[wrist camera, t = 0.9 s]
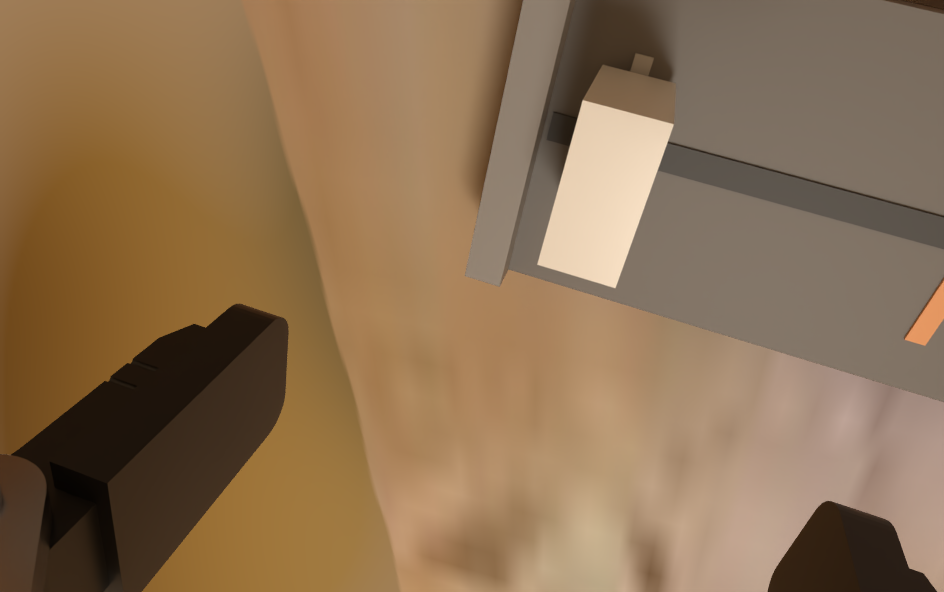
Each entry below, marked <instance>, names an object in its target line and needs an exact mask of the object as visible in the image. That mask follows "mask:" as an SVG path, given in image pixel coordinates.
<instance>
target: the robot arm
mask: <svg viewBox="0 0 944 592" xmlns="http://www.w3.org/2000/svg"><path fill="white" fill-rule="evenodd" d="M287 349H288V324H287V321H286V320H285V319H284V318H282V317H279V316H276V315H273V314H270V313H267V312H263V311H260V310H257V309H254V308H252V307H248V306H246V305H243V304H235V305H233V306H231V307H230V308H229V309H227V310H226V311H225V312H224V313H223V314H222V315H220V316H219V317H218V318H217V319H216V320H214V321H213V322H212V323H211V324H210V325H209V326H207V327H206V328H205V327H202V326H199V325H196V324H193V325H191V326H188V327H185V328H183V329H180V330H178V331H175V332H173V333H170V334H168V335H165V336H163V337H160V338H158V339H157V340H156V341H155V342H153V343H152V344H151V345H150V346H148V347H147V348H146V349H145V350H143V351H142V352H141V353H140V354H138V355H137V356H136V357H134V358H133V361H132V363H131V364H129V363H127V364H126V365H125V366H123V367H122V368H121V369H119V370H118V371H117V372H116V373H115V374H113V375H112V376H111V378H110V381H109V382H106V381H104V382H103V383H102V384H100V385H99V386H98V387H97V388H96V389H94V390H93V391H92V392H91V393H89V394H88V395H87V396H85V397H84V398H83V399H82V400H80V401H79V402H78V403H77V404H75V405H74V406H73V407H72V408H70V409H69V410H68V411H67V412H65V413H64V414H63V415H62V416H60V417H59V418H58V419H57V420H55V421H54V422H53V423H51V424H50V425H49V426H48V427H46V428H45V429H44V430H43V431H41V432H40V433H39V434H38V435H36V436H35V437H34V438H33V439H31V440H30V441H29V442H28V443H26V444H25V445H24V446H23V447H21V448H20V449H19V450H17V451H16V452H14V453H13V454H11V455H7V454H0V592H142V591H143V589H144V588H145V587H146V586H147V584H148V583H149V582H150V581H151V579H152V578H153V577H154V576H155V574H156V573H157V572H158V571H159V569H160V568H161V567H162V566H163V564H164V563H165V562H166V561H167V560H168V558H169V557H170V556H171V555H172V553H173V552H174V551H175V550H176V549H177V547H178V546H179V545H180V544H181V542H182V541H183V540H184V539H185V537H186V536H187V535H188V534H189V532H190V531H191V530H192V529H193V527H194V526H195V525H196V524H197V523H198V521H199V520H200V519H201V518H202V516H203V515H204V514H205V513H206V511H207V510H208V509H209V507H210V506H211V505H212V504H213V503H214V502H215V500H216V499H217V498H218V497H219V495H220V494H221V493H222V492H223V490H224V489H225V488H226V487H227V485H228V484H229V483H230V482H231V480H232V479H233V478H234V477H235V476H236V474H237V473H238V472H239V471H240V469H241V468H242V467H243V466H244V464H245V463H246V462H247V461H248V459H249V458H250V457H251V456H252V455H253V453H254V452H255V451H256V449H257V448H258V447H259V446H260V444H261V443H262V442H263V441H264V440H265V438H266V437H267V436H268V435H269V433H270V432H271V430H272V429H273V427H274V426H275V424H276V422H277V420H278V417H279V415H280V413H281V410H282V407H283V403H284V398H285V387H286V367H287ZM768 592H937V591H936V590H935V588H934V587H933V586H932V584H931V583H930V582H929V580H928V579H927V578H926V576H925V575H924V574H923V573H921V572H918V571H915V570H912V569H909V567H908V564H907V561H906V559H905V556H904V553H903V550H902V547H901V544H900V541H899V538H898V536H897V533H896V530H895V528H894V526H893V525H892V524H891V523H890V522H889V521H888V520H886V519H883V518H880V517H877V516H874V515H871V514H868V513H865V512H862V511H859V510H856V509H853V508H850V507H847V506H844V505H841V504H838V503H835V502H832V501H826V502H824V503H822V504H821V505H820V506H819V507H818V508H817V509H816V510H815V512H814V513H813V515H812V516H811V518H810V519H809V521H808V522H807V524H806V525H805V526H804V528H803V529H802V531H801V532H800V534H799V535H798V537H797V538H796V539H795V541H794V542H793V544H792V545H791V547H790V548H789V550H788V551H787V552H786V554H785V555H784V557H783V558H782V560H781V561H780V563H779V564H778V566H777V567H776V569H775V571H774V573H773V575H772V578H771V581H770V584H769V588H768Z"/></svg>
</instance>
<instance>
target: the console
mask: <svg viewBox="0 0 944 592" xmlns="http://www.w3.org/2000/svg"><path fill="white" fill-rule="evenodd" d="M602 65H606V66H610V67H614V68H618V69H622V70H626V71H630V72H634V73H637V74H641V75H645V76H649V77H653V78H657V79H661V80H665V81H669V82H672V83H676V96H675V115H674V126H673V129H672V131H671V134H670V137H669V140H668V143H667V145H666V148H665V151H664V154H663V157H662V159H661V162H660V165H659V168H658V171H657V173H656V176H655V179H654V182H653V185H652V187H651V190H650V193H649V196H648V199H647V201H646V204H645V207H644V210H643V213H642V215H641V218H640V221H639V224H638V227H637V229H636V232H635V235H634V238H633V241H632V243H631V246H630V249H629V252H628V255H627V257H626V260H625V263H624V266H623V269H622V271H621V274H620V277H619V280H618V283H617V285H616V288H613V287H610V286H606V285H603V284H600V283H596V282H593V281H590V280H586V279H583V278H580V277H576V276H573V275H570V274H567V273H563V272H560V271H557V270H553V269H550V268H547V267H543V266H540V265H537V264H538V260H539V256H540V253H541V249H542V246H543V242H544V238H545V235H546V231H547V227H548V224H549V220H550V217H551V213H552V209H553V206H554V202H555V199H556V195H557V191H558V188H559V184H560V181H561V177H562V173H563V170H564V166H565V162H566V159H567V155H568V152H569V148H570V144H571V141H572V137H573V134H574V130H575V126H576V123H577V119H578V116H579V112H580V108H581V105H582V101H583V99H584V97H585V95H586V93H587V92H588V90H589V88H590V86H591V85H592V83H593V81H594V79H595V77H596V76H597V74H598V72H599V70H600V68H601V67H602ZM508 269H509V270H512V271H516V272H519V273H522V274H525V275H529V276H532V277H535V278H539V279H542V280H545V281H548V282H552V283H555V284H558V285H562V286H565V287H568V288H571V289H575V290H578V291H581V292H584V293H588V294H591V295H594V296H598V297H601V298H604V299H607V300H611V301H614V302H617V303H621V304H624V305H627V306H630V307H634V308H637V309H640V310H643V311H647V312H650V313H653V314H657V315H660V316H663V317H666V318H670V319H673V320H676V321H680V322H683V323H686V324H689V325H693V326H696V327H699V328H702V329H706V330H709V331H712V332H716V333H719V334H722V335H725V336H729V337H732V338H735V339H739V340H742V341H745V342H748V343H752V344H755V345H758V346H762V347H765V348H768V349H771V350H775V351H778V352H781V353H784V354H788V355H791V356H794V357H798V358H801V359H804V360H807V361H811V362H814V363H817V364H821V365H824V366H827V367H830V368H834V369H837V370H840V371H843V372H847V373H850V374H853V375H857V376H860V377H863V378H866V379H870V380H873V381H876V382H880V383H883V384H886V385H889V386H893V387H896V388H899V389H902V390H906V391H909V392H912V393H916V394H919V395H922V396H925V397H929V398H932V399H935V400H939V401H942V402H944V10H942V9H938V8H934V7H929V6H925V5H920V4H916V3H912V2H907V1H903V0H523V4H522V8H521V13H520V18H519V22H518V27H517V32H516V37H515V41H514V46H513V51H512V56H511V60H510V65H509V70H508V74H507V79H506V84H505V89H504V93H503V98H502V103H501V107H500V112H499V117H498V122H497V126H496V131H495V136H494V140H493V145H492V150H491V155H490V159H489V164H488V169H487V173H486V178H485V183H484V188H483V192H482V197H481V202H480V207H479V211H478V216H477V221H476V225H475V230H474V235H473V240H472V244H471V249H470V254H469V258H468V263H467V268H466V273H465V276H467V277H470V278H473V279H476V280H479V281H483V282H486V283H489V284H492V285H496V286H499V287H500V285H501V283H502V281H503V279H504V277H505V275H506V273H507V271H508Z"/></svg>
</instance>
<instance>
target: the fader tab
mask: <svg viewBox="0 0 944 592" xmlns="http://www.w3.org/2000/svg"><path fill="white" fill-rule="evenodd" d="M675 96H676V83H672V82H669V81H665V80H661V79H657V78H653V77H649V76H645V75H641V74H637V73H634V72H630V71H626V70H622V69H618V68H614V67H610V66H606V65H602V67H601V68H600V70H599V72H598V74H597V76H596V77H595V79H594V81H593V83H592V85H591V86H590V88H589V90H588V92H587V93H586V95H585V97H584V99H583V101H582V105H581V108H580V112H579V116H578V119H577V123H576V126H575V130H574V134H573V137H572V141H571V144H570V148H569V152H568V155H567V159H566V162H565V166H564V170H563V173H562V177H561V181H560V184H559V188H558V191H557V195H556V199H555V202H554V206H553V209H552V213H551V217H550V220H549V224H548V227H547V231H546V235H545V238H544V242H543V246H542V249H541V253H540V256H539V260H538V264H537V265H540V266H543V267H547V268H550V269H553V270H557V271H560V272H563V273H567V274H570V275H573V276H576V277H580V278H583V279H586V280H590V281H593V282H596V283H600V284H603V285H606V286H610V287H613V288H616V285H617V283H618V280H619V277H620V274H621V271H622V269H623V266H624V263H625V260H626V257H627V255H628V252H629V249H630V246H631V243H632V241H633V238H634V235H635V232H636V229H637V227H638V224H639V221H640V218H641V215H642V213H643V210H644V207H645V204H646V201H647V199H648V196H649V193H650V190H651V187H652V185H653V182H654V179H655V176H656V173H657V171H658V168H659V165H660V162H661V159H662V157H663V154H664V151H665V148H666V145H667V143H668V140H669V137H670V134H671V131H672V129H673V126H674V115H675Z"/></svg>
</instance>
